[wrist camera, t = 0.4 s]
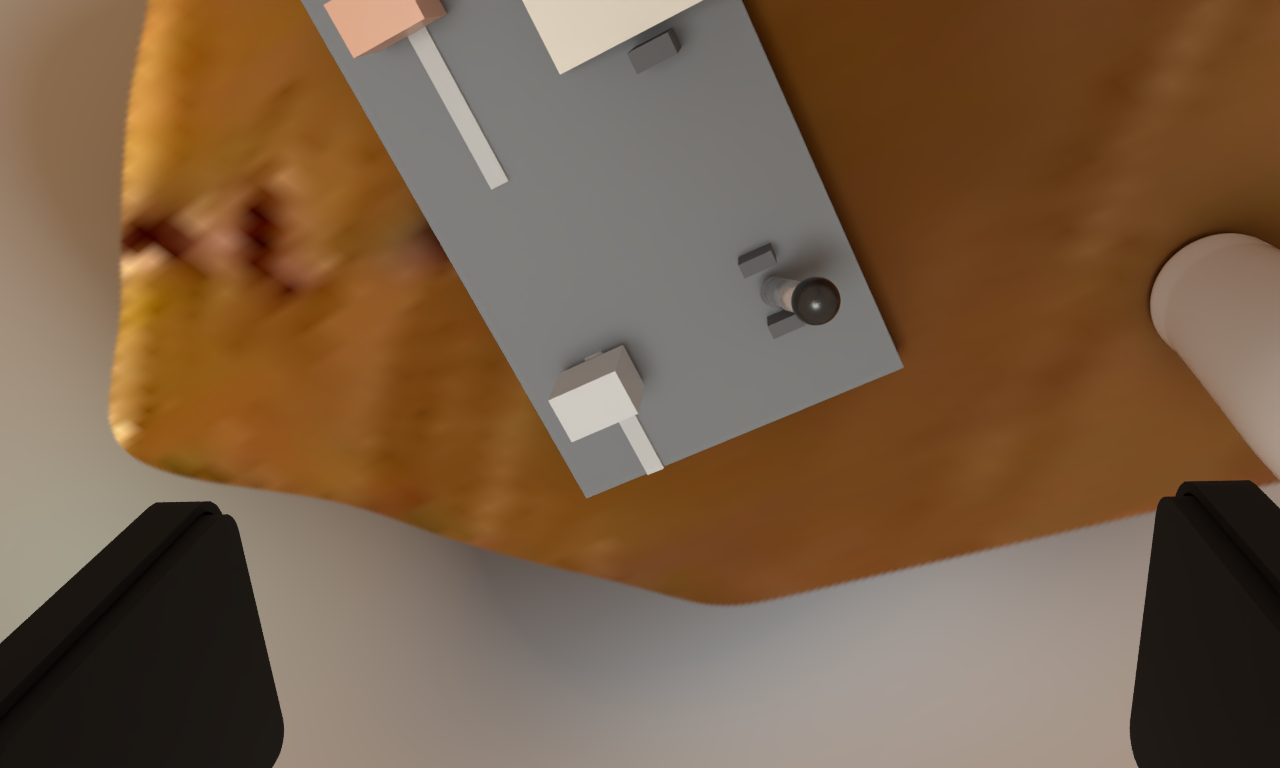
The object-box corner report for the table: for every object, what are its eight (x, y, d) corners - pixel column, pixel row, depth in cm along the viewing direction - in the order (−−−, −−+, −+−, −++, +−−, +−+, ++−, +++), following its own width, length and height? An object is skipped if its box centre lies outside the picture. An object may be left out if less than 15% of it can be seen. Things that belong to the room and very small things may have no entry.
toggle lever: (746, 283, 42) (796, 294, 37) (783, 260, 42) (837, 269, 38) (764, 322, 42) (816, 337, 38) (801, 299, 43) (857, 312, 38)
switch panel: (299, -38, 42) (247, -37, 37) (636, -239, 38) (623, -265, 34) (592, 477, 49) (577, 529, 45) (897, 350, 46) (914, 393, 41)
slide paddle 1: (352, 1, 40) (323, 4, 37) (419, -38, 39) (395, -37, 36) (380, 51, 40) (353, 58, 37) (446, 14, 39) (424, 18, 37)
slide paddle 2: (559, 372, 44) (548, 400, 42) (623, 344, 44) (615, 370, 41) (582, 412, 45) (571, 442, 42) (644, 385, 44) (638, 413, 42)
